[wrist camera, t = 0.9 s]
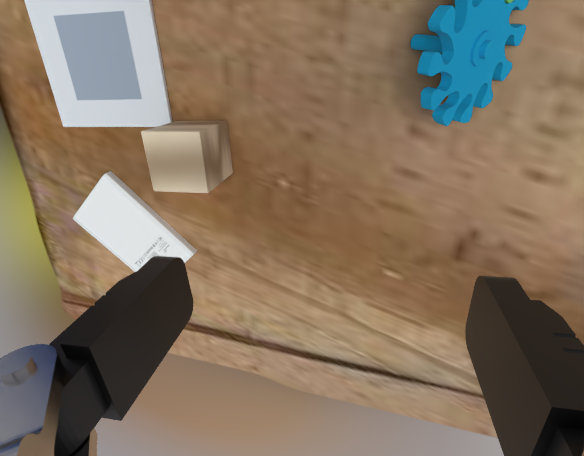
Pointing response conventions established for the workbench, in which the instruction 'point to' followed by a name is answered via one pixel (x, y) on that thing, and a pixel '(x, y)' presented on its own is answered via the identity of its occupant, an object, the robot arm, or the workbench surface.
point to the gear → (466, 55)
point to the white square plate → (102, 61)
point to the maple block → (188, 155)
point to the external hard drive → (129, 225)
